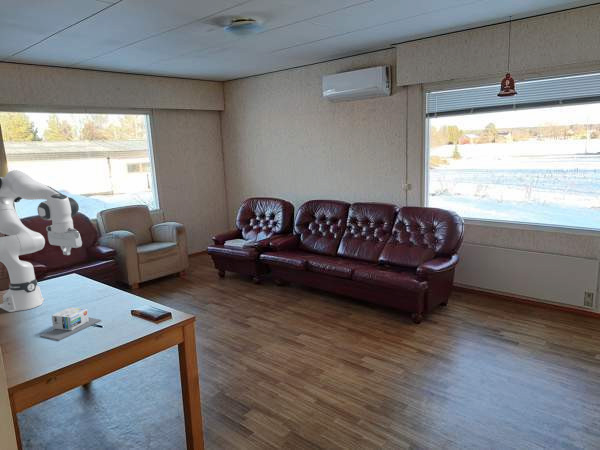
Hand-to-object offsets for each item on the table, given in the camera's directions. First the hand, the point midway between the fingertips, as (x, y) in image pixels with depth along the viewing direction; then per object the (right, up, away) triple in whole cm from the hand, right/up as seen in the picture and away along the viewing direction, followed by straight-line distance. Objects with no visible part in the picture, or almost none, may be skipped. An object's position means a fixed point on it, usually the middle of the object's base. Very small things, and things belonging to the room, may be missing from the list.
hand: (67, 254), depth 209 cm
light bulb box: (+4, -29, -13) cm, 32 cm away
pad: (+11, -33, -16) cm, 38 cm away
